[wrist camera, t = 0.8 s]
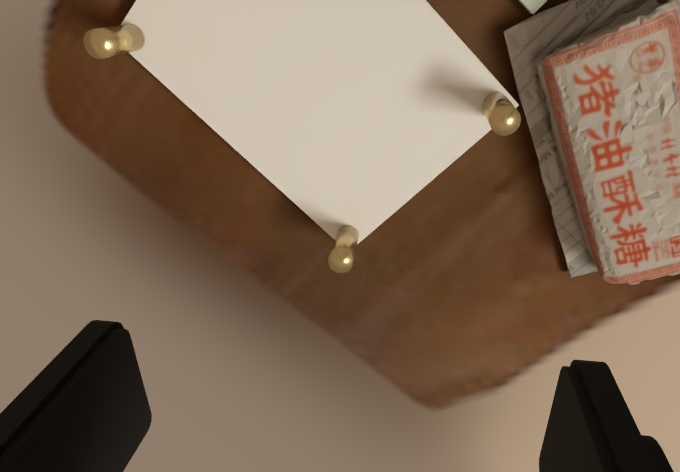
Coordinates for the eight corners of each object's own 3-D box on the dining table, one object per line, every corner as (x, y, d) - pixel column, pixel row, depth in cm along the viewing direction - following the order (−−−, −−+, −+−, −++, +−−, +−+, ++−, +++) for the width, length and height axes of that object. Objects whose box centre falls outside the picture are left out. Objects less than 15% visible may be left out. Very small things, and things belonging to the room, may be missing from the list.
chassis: (262, -183, 26) (230, -218, 22) (515, 101, 31) (532, 121, 27) (122, 36, 33) (74, 44, 28) (350, 244, 38) (340, 280, 33)
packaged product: (762, 266, 29) (585, 308, 32) (719, 230, 34) (565, 270, 37) (730, -55, 23) (511, 36, 26) (681, -49, 27) (498, 28, 30)
